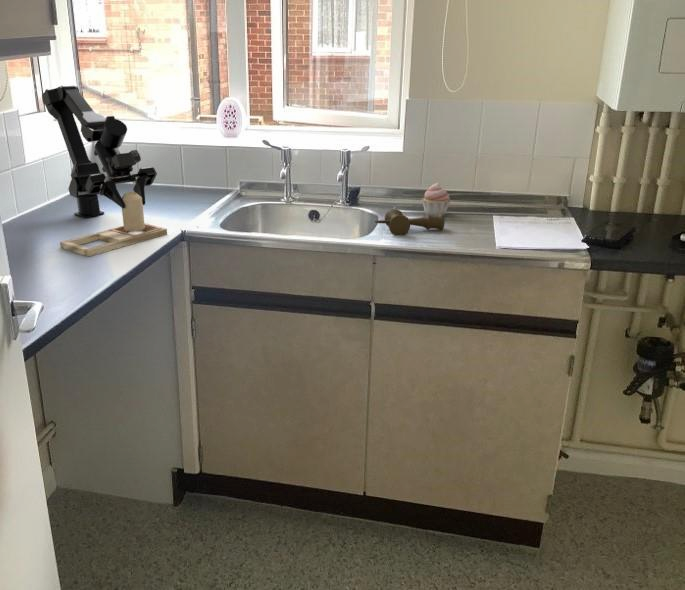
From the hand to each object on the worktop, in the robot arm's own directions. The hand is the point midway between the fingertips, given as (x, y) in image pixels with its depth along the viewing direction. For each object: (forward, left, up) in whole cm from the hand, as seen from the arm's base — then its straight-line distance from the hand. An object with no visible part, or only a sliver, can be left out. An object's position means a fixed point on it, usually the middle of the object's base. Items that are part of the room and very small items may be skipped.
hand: (134, 205), depth 180 cm
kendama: (+56, +50, -9) cm, 76 cm away
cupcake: (+54, +71, -9) cm, 89 cm away
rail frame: (-1, -6, -8) cm, 11 cm away
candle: (-1, 0, -7) cm, 7 cm away
